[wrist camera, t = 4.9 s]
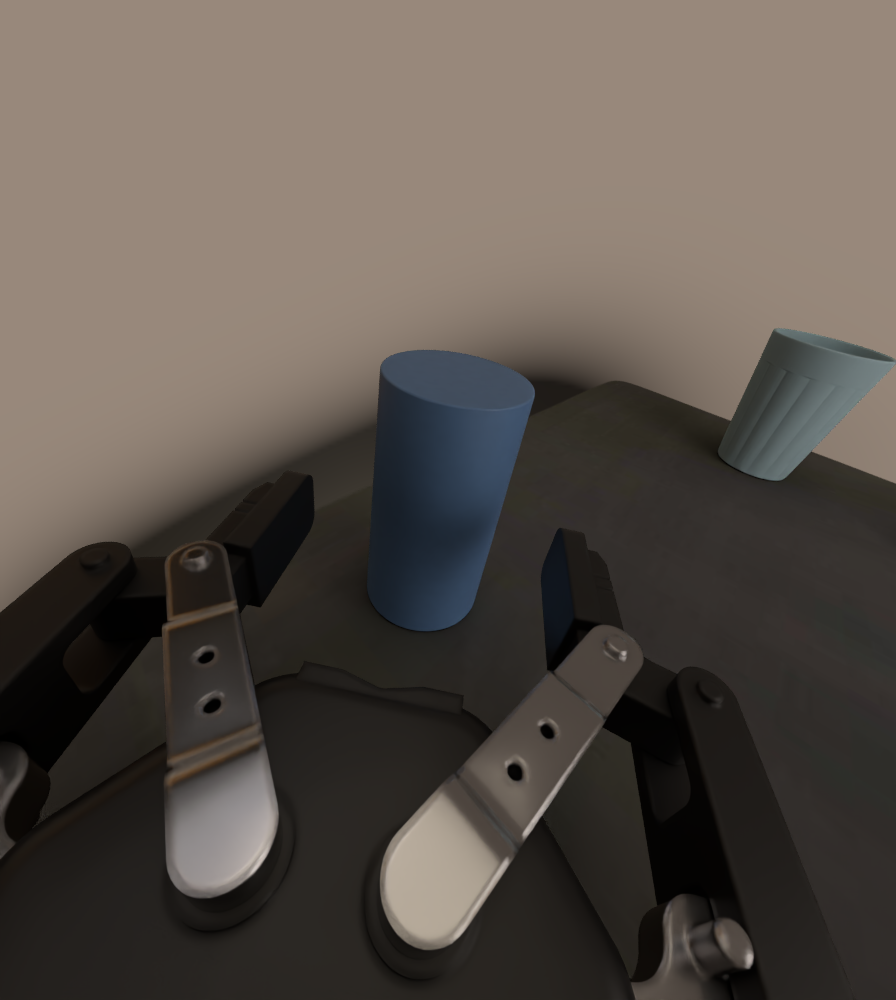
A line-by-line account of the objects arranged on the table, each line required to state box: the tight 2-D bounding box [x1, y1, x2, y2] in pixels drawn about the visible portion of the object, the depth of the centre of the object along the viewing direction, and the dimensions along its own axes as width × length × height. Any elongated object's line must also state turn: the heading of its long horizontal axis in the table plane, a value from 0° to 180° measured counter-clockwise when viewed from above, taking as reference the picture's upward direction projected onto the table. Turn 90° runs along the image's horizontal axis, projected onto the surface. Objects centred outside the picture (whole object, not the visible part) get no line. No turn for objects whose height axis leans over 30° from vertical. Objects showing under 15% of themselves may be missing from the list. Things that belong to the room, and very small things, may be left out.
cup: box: [718, 328, 896, 481], centre depth 33 cm, size 8×8×10 cm
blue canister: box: [367, 350, 535, 631], centre depth 16 cm, size 5×5×10 cm
